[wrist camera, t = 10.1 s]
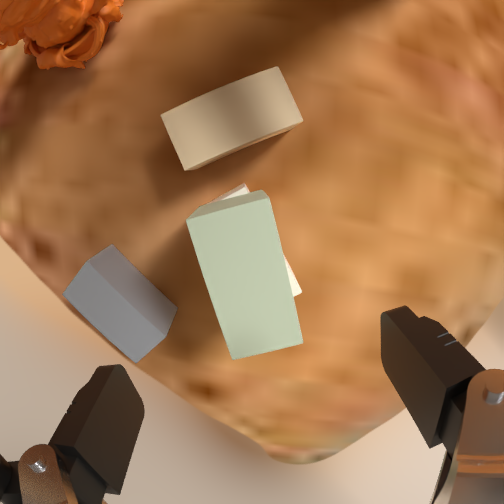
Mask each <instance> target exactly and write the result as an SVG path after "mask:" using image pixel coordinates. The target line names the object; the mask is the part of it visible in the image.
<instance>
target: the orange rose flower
mask: <svg viewBox="0 0 504 504" xmlns="http://www.w3.org/2000/svg"><path fill="white" fill-rule="evenodd" d="M123 2H124V0H0V41H1V42H2V43H4V45H1V44H0V50H2V49H4V48H6V46H7V45H8V46H13V45H16V44H17V43H18V41H19V40H20V39H23V40H24V42H25V45H24V53H25V54H29V55H31V54H33V55H34V56H35V57H37V59H36V61H37V65H38V67H39V68H40V69H46V68H47V70H49V68H50V67H55V66H57V67H62V68H66V67H71V66H74V67H76V68H83V69H85V66H84V64H83V62H82V61H85V62H87V60H88V59H91V58H92V57H94V56H95V55H96V54H97V53H98V52H99V50H100V48H101V46H102V44H103V40H104V36H105V34H106V32H107V29H108V26H109V22H110V21H116V22H119V21H120V20H121V19H122V17H123V14H122V15H121V13H120V11H119V6H123V5H122V4H123Z"/></svg>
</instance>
